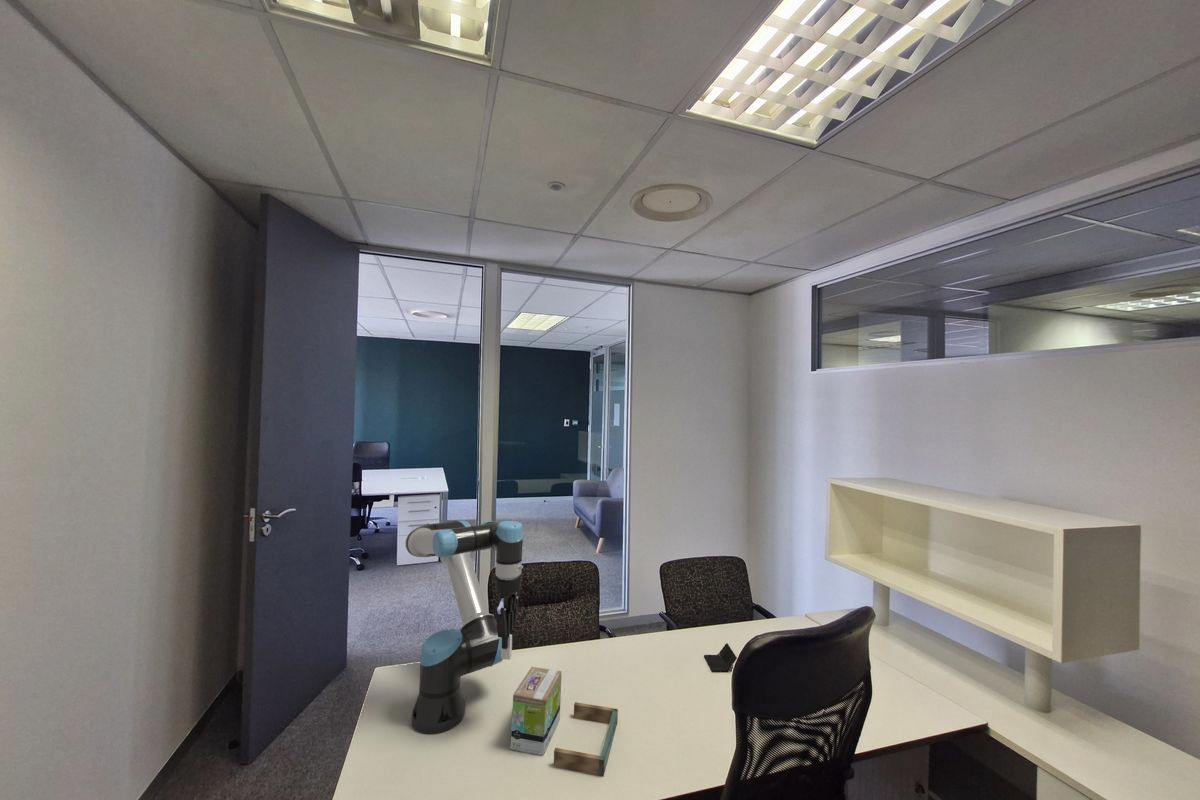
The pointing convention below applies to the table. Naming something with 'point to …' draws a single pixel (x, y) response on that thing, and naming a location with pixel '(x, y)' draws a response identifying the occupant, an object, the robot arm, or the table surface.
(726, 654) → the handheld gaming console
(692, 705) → the table surface
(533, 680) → the tea box
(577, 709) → the bay
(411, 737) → the table surface
